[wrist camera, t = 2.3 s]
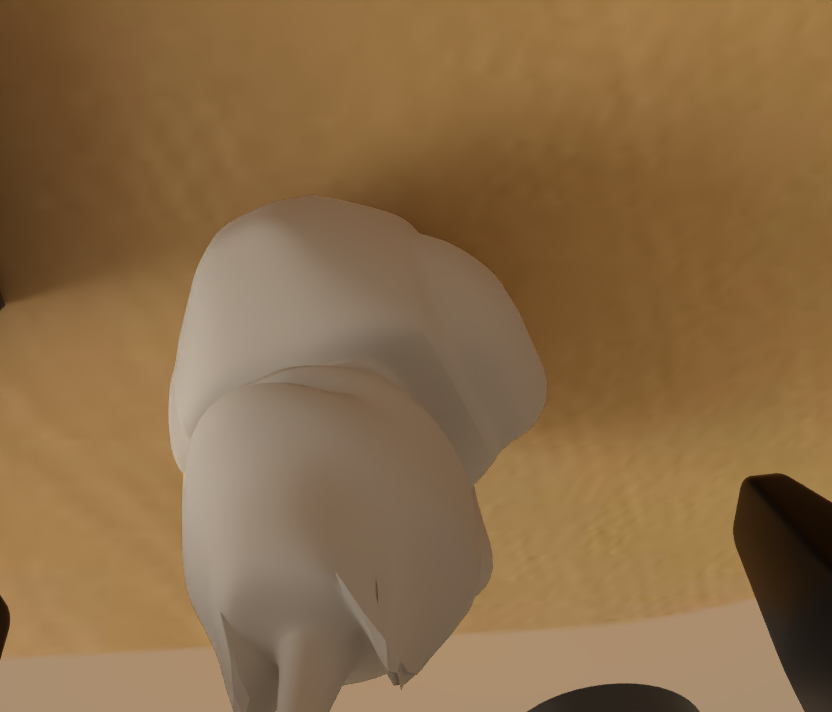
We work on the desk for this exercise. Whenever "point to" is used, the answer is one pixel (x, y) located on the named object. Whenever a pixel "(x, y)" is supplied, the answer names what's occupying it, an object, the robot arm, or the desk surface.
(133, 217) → the desk surface
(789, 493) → the robot arm
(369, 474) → the white rounded lumpy piece
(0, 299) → the tray
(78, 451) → the desk surface
